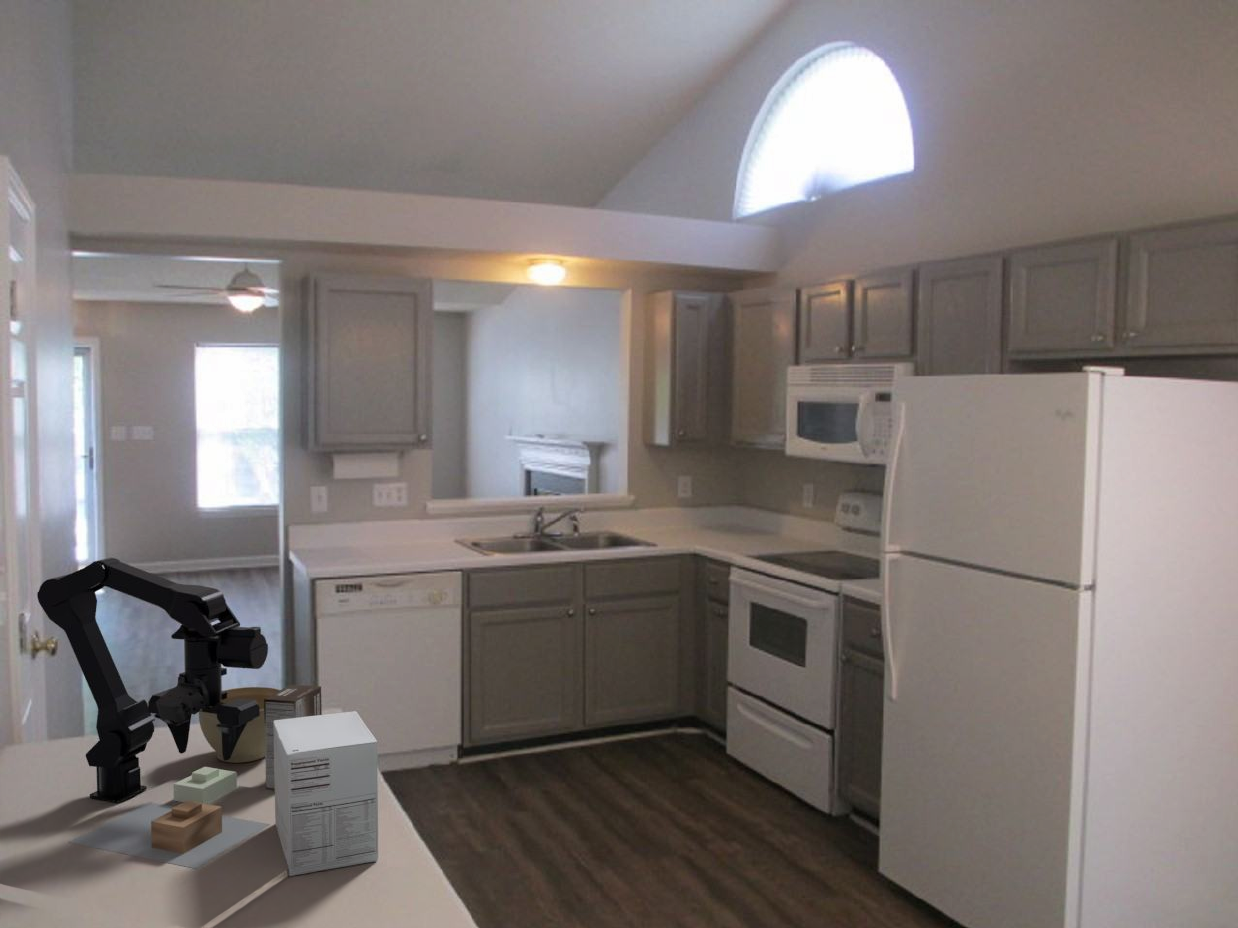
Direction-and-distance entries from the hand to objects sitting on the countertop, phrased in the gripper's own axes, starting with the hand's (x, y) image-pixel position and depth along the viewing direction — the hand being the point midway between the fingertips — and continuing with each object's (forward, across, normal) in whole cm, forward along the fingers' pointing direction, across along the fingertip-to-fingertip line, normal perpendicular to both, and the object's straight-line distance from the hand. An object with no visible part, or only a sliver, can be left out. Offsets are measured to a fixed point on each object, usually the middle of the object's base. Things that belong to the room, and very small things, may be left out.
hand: (204, 756), depth 172 cm
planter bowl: (+8, -9, +20) cm, 23 cm away
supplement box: (+8, +29, -7) cm, 31 cm away
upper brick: (+8, 0, 0) cm, 8 cm away
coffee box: (+8, +8, +13) cm, 17 cm away
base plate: (+8, +6, -14) cm, 17 cm away
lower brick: (+6, +10, -15) cm, 19 cm away
